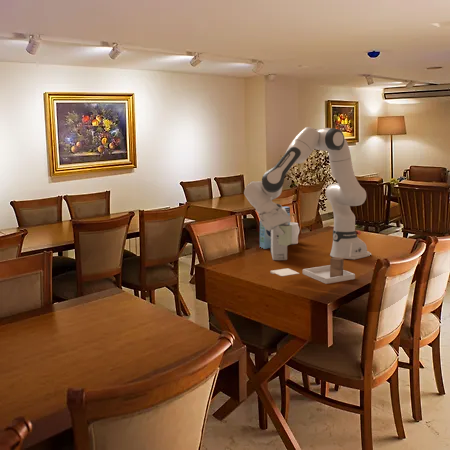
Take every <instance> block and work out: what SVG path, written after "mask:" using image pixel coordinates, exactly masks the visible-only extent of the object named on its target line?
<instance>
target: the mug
mask: <svg viewBox="0 0 450 450" xmlns="http://www.w3.org/2000/svg"><path fill="white" fill-rule="evenodd" d="M290 225H292V244H291V245H297V244H298V243H299V234H300V226H299V223H298V222H293V221H290Z"/></svg>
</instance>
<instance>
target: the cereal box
mask: <svg viewBox="0 0 450 450" xmlns="http://www.w3.org/2000/svg"><path fill="white" fill-rule="evenodd" d="M281 209H284V210H285V208H284V206H282V208H281ZM285 211H286V210H285ZM286 213H287V212H286ZM270 254H271V257H272V261H287V260H288V246H286V245H279V233H278V232H277V231H275V229H273V230H271V248H270Z"/></svg>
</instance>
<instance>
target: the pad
mask: <svg viewBox="0 0 450 450" xmlns="http://www.w3.org/2000/svg"><path fill="white" fill-rule="evenodd" d="M269 272H270V274H272V275H274V274H275V275H277V276H280V277H286V276H295V275H300V272H297V271H296V270H293V269H292V268H281V269H279V268H278V269H274V270H273V269H272V270H270V271H269Z"/></svg>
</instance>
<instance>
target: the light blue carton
mask: <svg viewBox="0 0 450 450" xmlns="http://www.w3.org/2000/svg"><path fill="white" fill-rule="evenodd" d="M283 207H284V208H285V210H286V212H287V214H288V215H289V217H290V218H291V206H283ZM290 222H291V221H290ZM290 222H289V223H288V225H290ZM260 247H261V248H260ZM259 248H260V249H262V248H263V250H268V249H271V230H270V231H268V230H266V229H265V227H264V226H263V224H262V223H261V221H260V220H259Z"/></svg>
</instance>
